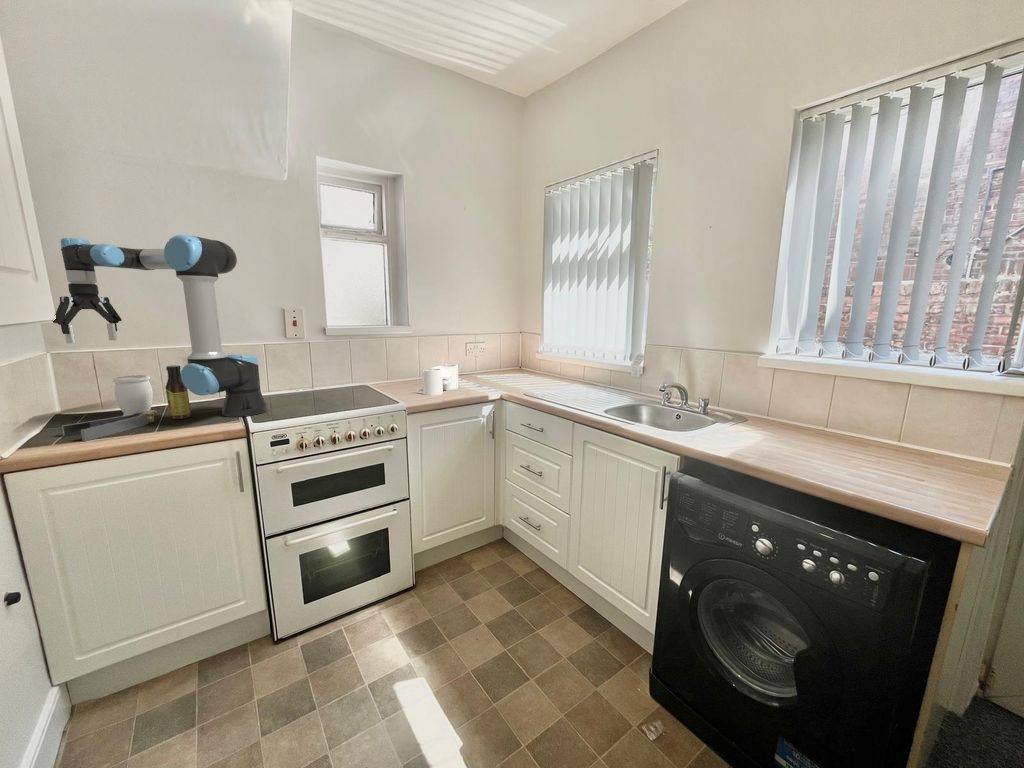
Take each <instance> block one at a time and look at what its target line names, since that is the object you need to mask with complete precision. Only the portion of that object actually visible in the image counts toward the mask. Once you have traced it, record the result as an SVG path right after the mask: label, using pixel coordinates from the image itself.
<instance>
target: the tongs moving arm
mask: <svg viewBox="0 0 1024 768" xmlns="http://www.w3.org/2000/svg"><path fill="white" fill-rule="evenodd" d="M157 413H158V411H157V410H155V409H153V410H152V409H150V411H144V412H139V413H133V414H132V415H126V416H123V415H121V416H114V417H107V418H103V419H95V420H89V421H82V422H75V423H69V424H63V425H61V427H62V428H61V429H62V433H63V434H62V435H63V437H65V438H67V437H72V436H77V435H80V430H82V429H86V428H90V427H94V426H98V425H104V424H108V423H112V422H116V421H120V420H124V419H128V418H132V417H136V416H140V415H157Z"/></svg>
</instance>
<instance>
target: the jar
mask: <svg viewBox="0 0 1024 768" xmlns="http://www.w3.org/2000/svg"><path fill="white" fill-rule="evenodd" d="M150 379H151V376H150V375H145V374H144V375H143V374H141V375H139V374H138V375H137V374H136V375H126V376H119V377H115V378H112V382H113V383H115V384H114V396H115V399H116V403H117V404H118V406H119V407H118V408H119V410H120V411H122V413H123V414H122V416H126V415H132V414H133V413H139V412H144V411H150V410H152V409H151V408H152V406H153V396H154V395H153V393H154V392H153V387H152V384H151V382H150V381H149V380H150Z"/></svg>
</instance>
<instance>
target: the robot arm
mask: <svg viewBox="0 0 1024 768" xmlns="http://www.w3.org/2000/svg"><path fill="white" fill-rule="evenodd" d="M60 247H61V248H60V251H61V255H62V259H63V265H64V269H65V273H66V275H65V276H66V281H67V282H69V283H68V284H67V286H68V292H69V294H70V297H69V296H65V295H64V296H59V305H58V306H57V309H56V311H55V314H54V316H55V315H56V319H55V320H54V321H53V320H52V323H53V324H58V325H59V326H60V328H61V332H62V333H61V334H62V335H65V340H66V344H76V340H75V335H74V329H73V325H72V324H70V323H71V322H72V321H73V320H74V318H75V317H76V315H77V314H78V313H79V312H80V311H81V310H94V311H95V312H97V314H98V315H100V316H101V317H103V319H105V320H106V329H107V334H108V339H109V341H118V337H117V331H118V326H117V324H119V322H122V321H123V319H122V318H121V317H120V315H119V314H118V312H117V311H116V309H115V308H114V307H113V305H112V303H111V301H110V298H109V297H107V296H100V297H99V294H100V293H99V287H98V284H97V283H98V281H97V280H98V279H97V275H96V269H95V267H106V268H115V269H133V270H139V271H140V270H141V271H155V270H174V271H175V277H176V278H177V279H179V280H180V281H181V282H182V286H183V287H182V288H183V292H184V300H185V306H186V307H185V308H186V316H187V317H186V318H187V322H188V329H189V337H190V347H191V353H190V354H189V355H188V356H187V358H186V359H187V364H186V365H184V366H183V367H182V369H181V370H180V372H181V379H182V382H183V384H184V385H185V387H186V388H187V390H188V391H189V392H190V393H192V394H195V395H196V396H209V395H211V396H212V395H215V394H217V393H218V394H219V393H223V392H225V397H224V403H223V407H222V408H221V411H222V416H223V417H228V418H240V417H248V416H250V417H251V416H255V415H259V414H263V413H265V412H268V404H267V402H266V401H265V398H264V396H263V394H262V391H261V383H260V372H259V371H260V370H259V361H258V358H257V357H256V356H255V355H251V354H250V355H249V354H248V355H247V354H243V355H242V354H226V353H225V352H224V351H223V347H222V339H221V331H220V324H219V323H220V322H219V314H218V307H217V305H218V304H217V298H216V290H215V282H216V281H218V280H219V275H221V274H228V273H229V272H232V270H234V269H235V268H236V266H237V263H238V262H237V261H238V258H237V254H236V252H235V250H234V249H233V248H232V247H231V246H230V245H229V244H227V243H225V242H223V241H220V240H217V239H211V238H206V237H200V236H196V235H187V234H177V235H174V236H172V237H171V238H169V240H168V241H167V242H166V244H165V246H164V248H130V247H129V248H128V247H127V248H126V247H122V246H116V245H114V244H109V243H106V244H105V243H98V244H96V243H95V244H91V242H90V241H89V240H87V239H84V238H75V237H74V238H73V237H64V238H63V237H62V238H61V239H60ZM71 303H72V305H71V306H70V304H71ZM100 303H101V304H100ZM69 306H70V307H69ZM69 308H70V309H69ZM107 322H108V323H107Z"/></svg>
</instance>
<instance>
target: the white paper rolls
mask: <svg viewBox="0 0 1024 768" xmlns="http://www.w3.org/2000/svg"><path fill="white" fill-rule="evenodd" d="M428 369H429V370H428ZM428 369H423V370H422V386H423V387H422V389H423V392H422V393H423V395H425V396H432V397H433V396H440V395H443V394H444V391H445V390H446V391H453V390H458V389H459V365H458V364H455V363H453V364H452V363H450V364H449V363H444V364H443V366H442V365H437V366H435V367H429V368H428ZM443 390H444V391H443Z"/></svg>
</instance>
